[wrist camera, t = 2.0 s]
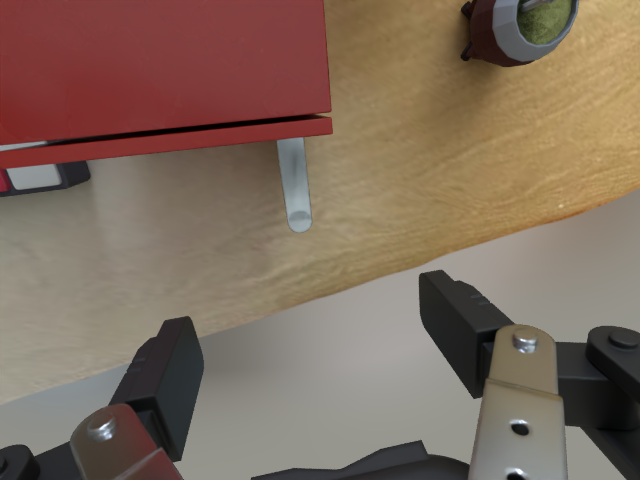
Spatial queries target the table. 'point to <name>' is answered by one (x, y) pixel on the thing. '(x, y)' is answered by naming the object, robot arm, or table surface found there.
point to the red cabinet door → (193, 137)
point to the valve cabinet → (156, 65)
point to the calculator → (41, 175)
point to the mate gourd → (516, 29)
